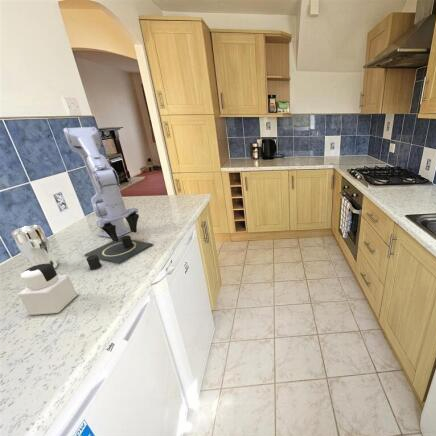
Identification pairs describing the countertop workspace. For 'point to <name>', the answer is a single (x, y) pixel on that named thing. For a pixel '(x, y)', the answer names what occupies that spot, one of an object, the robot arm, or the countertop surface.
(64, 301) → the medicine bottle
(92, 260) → the eye stopper
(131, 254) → the slate board
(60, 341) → the countertop surface
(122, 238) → the eye stopper
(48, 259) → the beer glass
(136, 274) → the countertop surface
